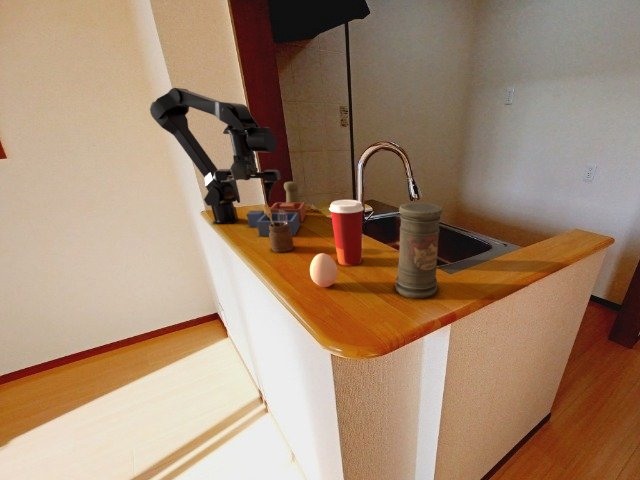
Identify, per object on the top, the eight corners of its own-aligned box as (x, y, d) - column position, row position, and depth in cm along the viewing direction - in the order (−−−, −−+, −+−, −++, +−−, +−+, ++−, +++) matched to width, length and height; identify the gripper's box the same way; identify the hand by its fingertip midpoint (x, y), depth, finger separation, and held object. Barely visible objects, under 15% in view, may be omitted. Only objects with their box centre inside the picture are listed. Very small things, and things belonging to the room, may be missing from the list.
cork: (285, 209, 128) (281, 181, 122) (300, 208, 130) (297, 180, 124) (287, 213, 123) (283, 183, 117) (303, 212, 125) (299, 182, 120)
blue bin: (259, 236, 99) (256, 221, 97) (267, 226, 108) (265, 212, 106) (294, 235, 100) (292, 221, 98) (299, 226, 109) (298, 212, 107)
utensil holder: (285, 254, 86) (278, 209, 80) (266, 250, 88) (257, 207, 82) (298, 247, 91) (292, 204, 85) (279, 244, 93) (272, 202, 87)
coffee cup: (370, 257, 86) (368, 200, 78) (358, 269, 79) (355, 208, 71) (341, 253, 88) (337, 197, 80) (327, 265, 81) (321, 205, 73)
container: (387, 288, 70) (387, 205, 61) (415, 276, 76) (419, 199, 67) (417, 303, 65) (422, 215, 56) (444, 290, 70) (453, 207, 61)
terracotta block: (281, 218, 114) (279, 206, 112) (284, 215, 118) (282, 203, 116) (294, 218, 115) (292, 206, 113) (296, 215, 119) (294, 203, 117)
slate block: (249, 226, 107) (246, 213, 105) (253, 223, 111) (250, 210, 108) (262, 226, 107) (260, 213, 105) (266, 223, 111) (263, 210, 109)
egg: (343, 286, 70) (341, 254, 67) (320, 294, 67) (316, 261, 63) (329, 278, 74) (326, 247, 70) (307, 285, 71) (302, 253, 67)
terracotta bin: (271, 222, 112) (268, 209, 109) (277, 214, 121) (275, 202, 119) (301, 222, 113) (300, 209, 111) (306, 214, 122) (304, 202, 120)
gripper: (200, 153, 90) (214, 208, 97) (268, 154, 92) (277, 208, 100) (215, 149, 99) (227, 200, 107) (277, 150, 102) (284, 200, 109)
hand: (253, 202), depth 105 cm, fingers open, 9 cm apart
